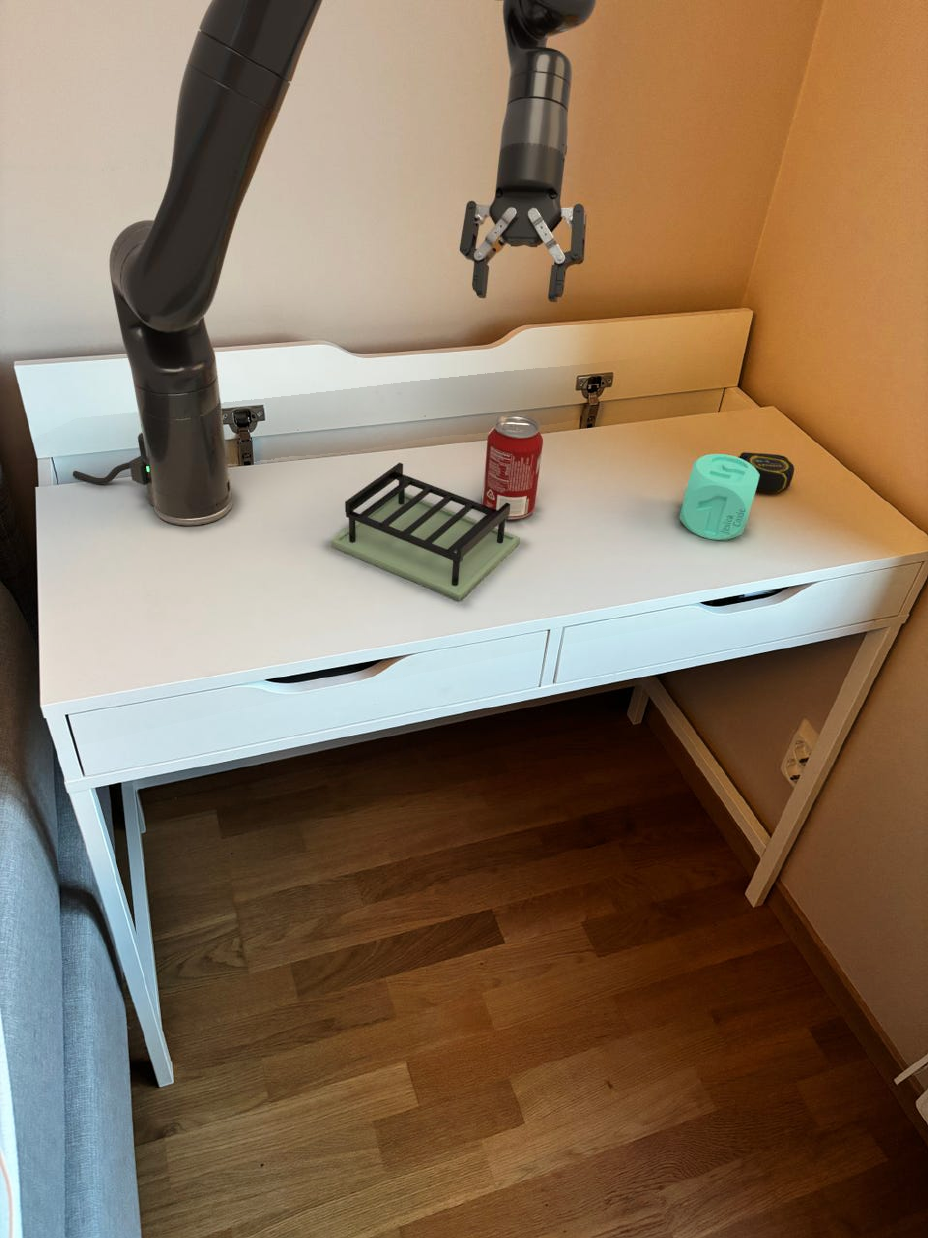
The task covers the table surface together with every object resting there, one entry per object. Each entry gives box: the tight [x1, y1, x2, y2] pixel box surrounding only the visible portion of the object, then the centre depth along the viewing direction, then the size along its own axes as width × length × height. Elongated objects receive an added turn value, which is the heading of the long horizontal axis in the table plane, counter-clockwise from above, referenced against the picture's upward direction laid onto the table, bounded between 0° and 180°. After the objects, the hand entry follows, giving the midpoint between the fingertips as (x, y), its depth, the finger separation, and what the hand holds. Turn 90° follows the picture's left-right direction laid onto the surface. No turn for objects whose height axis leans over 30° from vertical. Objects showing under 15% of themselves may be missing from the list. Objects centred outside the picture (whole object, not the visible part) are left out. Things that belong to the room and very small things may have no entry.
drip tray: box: [330, 492, 521, 603], centre depth 113 cm, size 18×14×1 cm
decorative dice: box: [679, 453, 760, 541], centre depth 119 cm, size 8×8×8 cm
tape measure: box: [737, 451, 795, 494], centre depth 128 cm, size 7×7×4 cm
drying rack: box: [344, 462, 511, 586], centre depth 111 cm, size 16×11×6 cm
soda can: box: [481, 413, 544, 521], centre depth 117 cm, size 7×7×12 cm
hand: (516, 298), depth 109 cm, fingers open, 8 cm apart
